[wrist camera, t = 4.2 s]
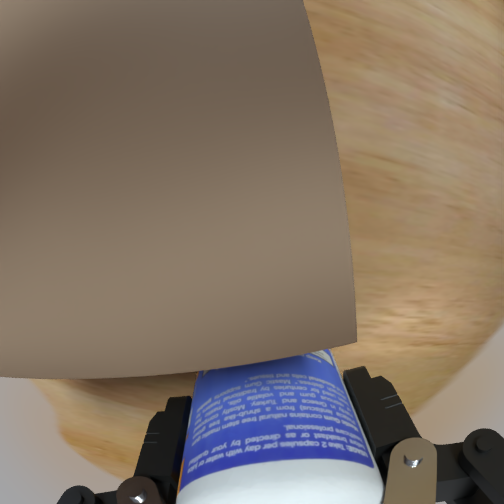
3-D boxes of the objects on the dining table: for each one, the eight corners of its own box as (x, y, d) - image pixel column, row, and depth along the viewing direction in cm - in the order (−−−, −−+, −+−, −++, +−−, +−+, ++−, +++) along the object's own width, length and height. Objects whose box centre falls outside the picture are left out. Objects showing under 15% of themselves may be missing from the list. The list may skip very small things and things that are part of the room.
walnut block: (5, 61, 8) (-99, 41, 2) (242, -30, 8) (240, -147, 2) (50, 289, 11) (-41, 372, 5) (300, 241, 11) (357, 341, 5)
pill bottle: (172, 347, 12) (102, 593, 3) (299, 285, 11) (399, 581, 2) (242, 428, 13) (243, 622, 4) (351, 383, 13) (424, 585, 3)
